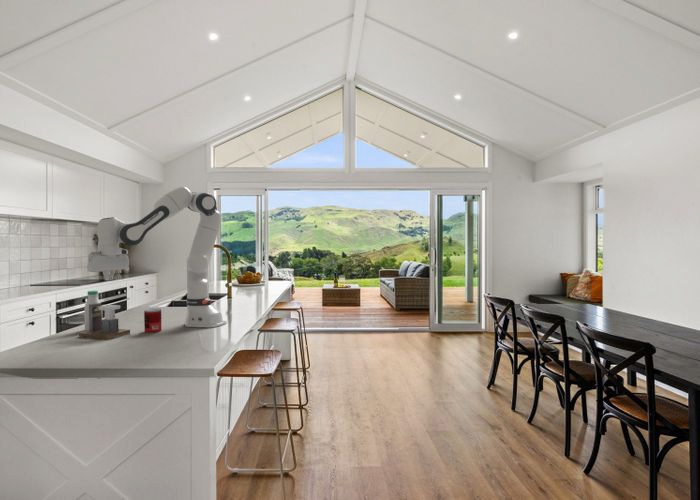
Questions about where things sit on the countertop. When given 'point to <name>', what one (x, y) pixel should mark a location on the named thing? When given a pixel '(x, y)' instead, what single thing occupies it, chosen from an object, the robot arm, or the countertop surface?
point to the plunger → (109, 311)
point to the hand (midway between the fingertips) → (109, 280)
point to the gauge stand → (102, 326)
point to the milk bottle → (91, 300)
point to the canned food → (152, 320)
